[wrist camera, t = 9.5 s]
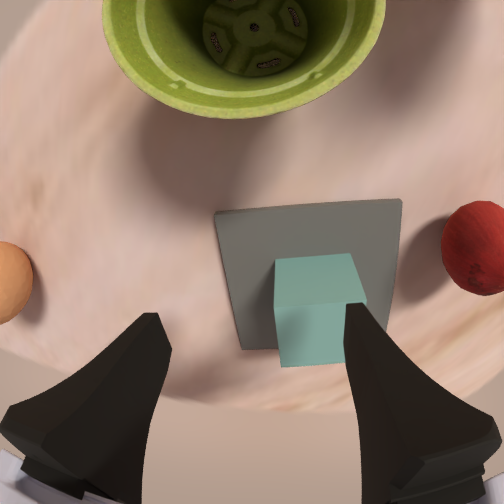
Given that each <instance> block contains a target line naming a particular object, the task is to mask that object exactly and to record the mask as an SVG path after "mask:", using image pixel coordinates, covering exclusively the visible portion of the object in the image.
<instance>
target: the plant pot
mask: <svg viewBox="0 0 504 504" xmlns="http://www.w3.org/2000/svg"><path fill="white" fill-rule="evenodd" d="M288 7H290V8H293V9H294V11H295V12H296V14H297V16H298V18H299V22H300V24H299V26H297V27H295V25H294V22H293V18H292V16H291V14H290V12H289V10H288V9H287V8H288ZM385 8H386V0H236V1H233V2H230V0H103V5H102V23H103V30H104V34H105V38H106V40H107V43H108V46H109V49H110V51H111V53H112V55H113V57H114V59H115V61H116V62H117V64H118V65H119V67H120V68H121V69H122V71H123V72H124V73H125V75H126V76H127V77H128V78H129V79H130V80H131V81H132V82H133V83H134V84H135V85H136V86H137V87H138V88H139V89H141V90H142V91H143V92H145V93H146V94H148V95H149V96H151V97H153V98H154V99H156V100H158V101H160V102H162V103H164V104H166V105H168V106H170V107H172V108H175V109H177V110H180V111H182V112H186V113H189V114H193V115H198V116H203V117H208V118H219V119H248V118H257V117H263V116H269V115H273V114H278V113H281V112H285V111H288V110H291V109H294V108H296V107H299V106H302V105H304V104H306V103H309V102H311V101H313V100H315V99H317V98H319V97H320V96H322V95H324V94H326V93H327V92H329V91H331V90H332V89H333V88H335V87H336V86H338V85H339V84H340V83H342V82H343V81H344V80H345V79H347V78H348V77H349V76H350V75H351V74H352V73H353V72H354V71H355V70H356V69H357V68H358V67H359V66H360V65H361V63H362V62H363V61H364V60H365V58H366V57H367V55H368V54H369V53H370V51H371V49H372V48H373V46H374V44H375V43H376V41H377V39H378V36H379V34H380V31H381V28H382V25H383V21H384V17H385ZM251 24H257V25H258V26H259V29H258V31H256V32H254V31H251V29H250V26H251ZM213 32H214V33H216V37H217V39H218V42H219V44H220V47H221V48H222V52H218V51H216V48H215V46H214V44H213V43H212V42H211V34H212V33H213ZM275 58H280V62H279V63H278V64H277V65H275V66H270V67H267V68H258V67H257V64H258V63H264V62H269V61H271V60H274V59H275Z"/></svg>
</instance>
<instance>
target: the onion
mask: <svg viewBox="0 0 504 504" xmlns="http://www.w3.org/2000/svg"><path fill="white" fill-rule="evenodd" d="M441 251H442V259H443V263H444V266H445V268H446V270H447V272H448V273H449V275H450V276H451V278H452V279H453V281H454V282H455V283H456V284H457V285H458V286H459V287H460V288H462V289H464V290H466V291H469V292H471V293H474V294H477V295H482V296H488V295H493V294H497V293H500V292H502V291H504V208H502V207H500V206H499V205H497V204H495V203H493V202H491V201H475V202H472V203H469V204H467V205H464V206H461V207H460V208H459V209H458V210H457V211H455V212H454V213H453V214H452V215H451V216H450V218H449V220H448V221H447V223H446V225H445V227H444V230H443V234H442V239H441Z"/></svg>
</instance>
